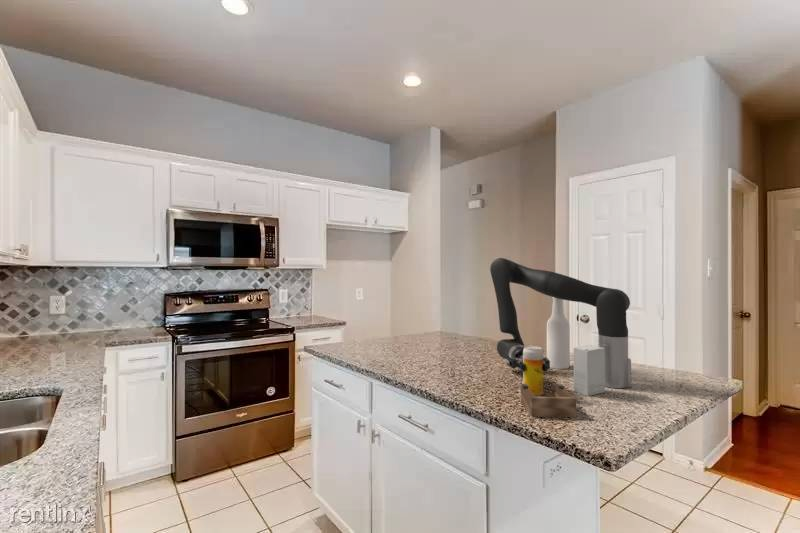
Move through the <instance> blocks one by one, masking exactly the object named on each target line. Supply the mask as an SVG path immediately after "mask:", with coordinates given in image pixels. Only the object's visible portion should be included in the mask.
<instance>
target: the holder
mask: <svg viewBox="0 0 800 533" xmlns="http://www.w3.org/2000/svg"><path fill="white" fill-rule="evenodd" d="M555 395H556V396H539V397H536V396H535V395H534V394H533V393H532V392H531V391H530V390H529V389H528V385H527V384H523V383H521V385H520V403H522V404H521V405H522V406H523V407H524V409H525V408H526V409H525V410H526V411H527V413H528V414H529V415H530V417H540V418H543V417H544V418H545V417H547V418H548V417H549V418H577V397H575V396H574V395H572V394H571V393H570V392H568V390H566V389H565V385H563V384H561V383H560V384H557V383H556V387H555Z"/></svg>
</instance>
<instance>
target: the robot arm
mask: <svg viewBox="0 0 800 533" xmlns="http://www.w3.org/2000/svg"><path fill="white" fill-rule="evenodd" d="M489 270H490V275H491V280H492V284H493V287H494V292H495V297H496V298H495V299H496V303H497V311H498V322H499V329H500V332H501V333H503V334H507V335H508V334H509V335H511V336H512V338H508V339H507V338H506V339H500V340H499V341H498V342H497V344H496V351H497V353H498V355H499V357H501V358H502V359H504V360H506V366H508V367H510V368H511V369H514V370H515V369H516V368H517V369H519V370H520V371H522V372H523V371H526V365H525V364H524V363H523V350H524V347H526V346H525V344H524V341H523V339H522V336H521V333H520V330H519V323H518V314H517V310H516V306H515V303H514V299H513V296H512V293H511V285H510V283H512V284H517V285H521V286H525V287H528V288H530V289H531V290H534V291H535V292H538V293H540V294H543V295H546V296H549V297H551V298H553V297H554V298H558V299H562V300H563V301H569V302H575V303H583V304H587V305H590V306H592V307H596V309H595V310H596V313H595V314H596V326H597V332H598V333H597V334H598V336H597V337H598V345H597V347H602V348H605V387H607V388H612V389H613V388H614V389H626V388H632V359H631V358H629V328H628V325H627V310H629V308H630V305H631V301H630V297H629V296H628V294H626V292H624V291H623V290H621V289H617V288H609V287H604V286H601V285H600V286H599V285H594V284H591V283H588V282H584V281H582V280H580V279H576V278H574V277H571V276H568V275H565V274H561V273H557V272H554V271H550V270H545V269H536V268H535V269H534V268H531V267H527V266H524V265H523V264H519V263H517V262H514V261H512V260H510V259H507V258H503V257H499V258H496V259H494V260H493V261H492V263H491V264H490V267H489ZM549 369H551V368H550V361H549V359H548V358H547V356H546V357H543V372H548V371H549Z"/></svg>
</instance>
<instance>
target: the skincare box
mask: <svg viewBox="0 0 800 533" xmlns="http://www.w3.org/2000/svg"><path fill="white" fill-rule="evenodd" d="M605 387H606V386H605V348H602V347H598V345H593V344H587V345H582V346H581V345H580V346H576V347H573V391H574V392H575V393H578V394H581V395H584V396H586V397H590V396H593V395H594V396H595V395H598V394H604V393H605V390H606V389H605Z"/></svg>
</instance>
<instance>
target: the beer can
mask: <svg viewBox="0 0 800 533" xmlns="http://www.w3.org/2000/svg"><path fill="white" fill-rule="evenodd" d="M543 358H544V352H543V349H542V347H540V346H536V345H535V346H534V345H527V346H525V347H524V350H523V363H524V364H525V365H526V371H522V384H527V385H528V389H529V390H530V391H531V392H532V393H533V394H534V395H535V396H536V397H542V395H543V394H544V371H543Z"/></svg>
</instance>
